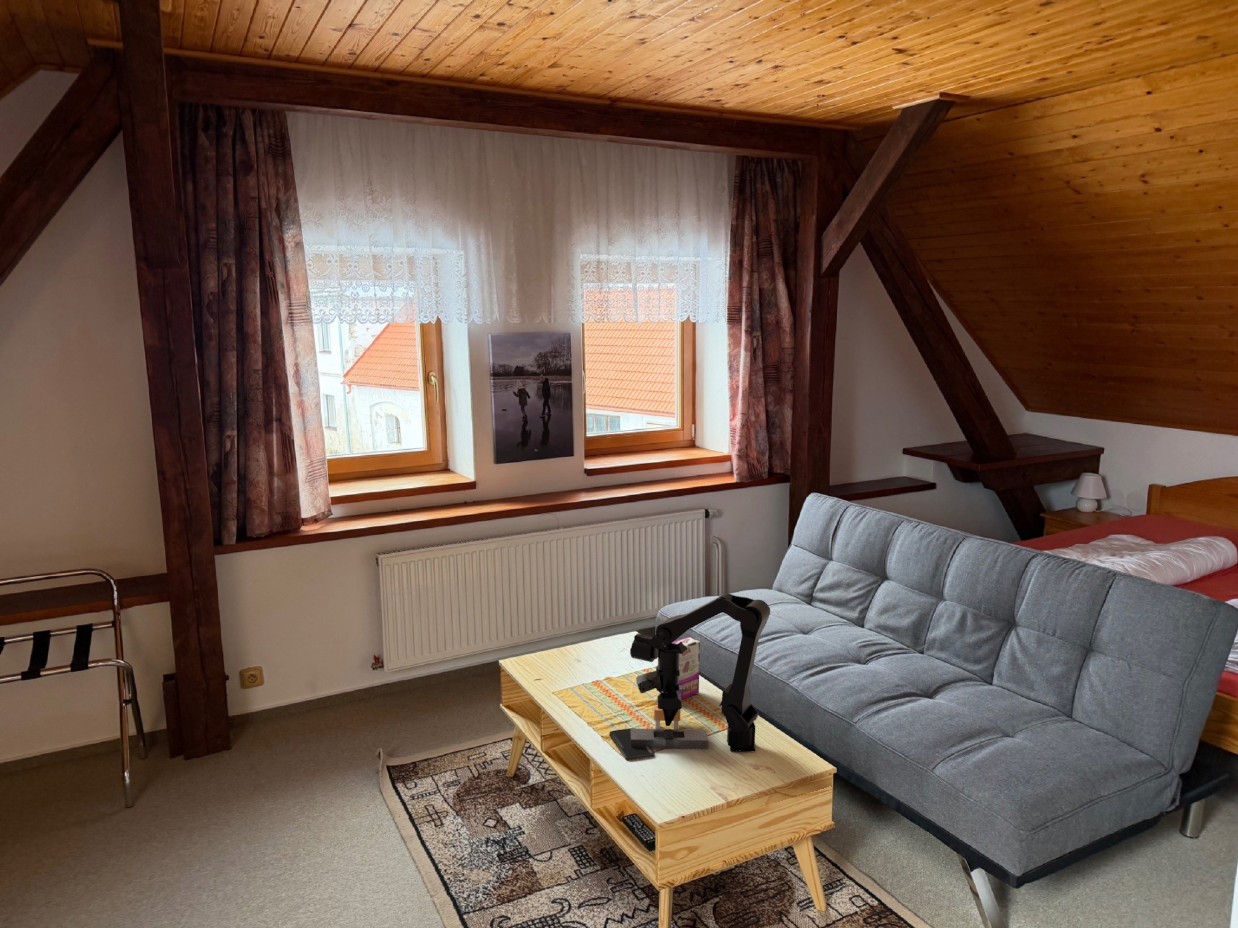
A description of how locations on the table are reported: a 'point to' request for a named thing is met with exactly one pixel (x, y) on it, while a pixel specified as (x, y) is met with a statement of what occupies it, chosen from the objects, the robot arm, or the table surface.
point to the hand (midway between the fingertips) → (666, 719)
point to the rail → (669, 738)
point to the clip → (660, 717)
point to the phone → (629, 745)
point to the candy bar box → (689, 668)
